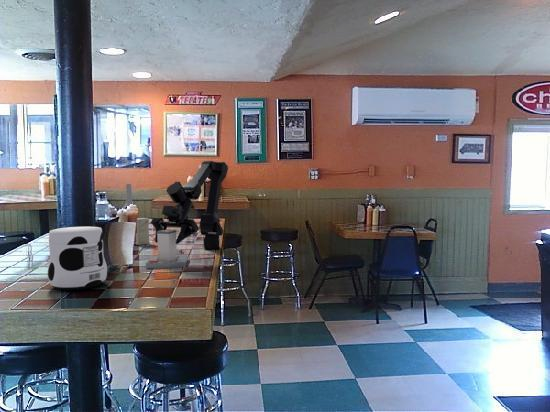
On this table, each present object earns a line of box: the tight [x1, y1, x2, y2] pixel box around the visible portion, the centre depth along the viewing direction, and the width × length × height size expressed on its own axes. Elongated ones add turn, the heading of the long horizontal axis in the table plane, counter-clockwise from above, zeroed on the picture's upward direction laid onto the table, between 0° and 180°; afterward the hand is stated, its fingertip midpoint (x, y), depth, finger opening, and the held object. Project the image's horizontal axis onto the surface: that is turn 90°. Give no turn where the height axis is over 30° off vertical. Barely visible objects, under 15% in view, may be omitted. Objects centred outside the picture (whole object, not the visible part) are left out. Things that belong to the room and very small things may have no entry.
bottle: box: [122, 183, 135, 210], centre depth 245 cm, size 7×7×28 cm
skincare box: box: [134, 217, 150, 246], centre depth 230 cm, size 6×4×12 cm
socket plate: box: [145, 254, 189, 270], centre depth 185 cm, size 14×14×2 cm
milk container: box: [47, 226, 108, 291], centre depth 152 cm, size 17×17×18 cm
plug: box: [157, 228, 178, 261], centre depth 184 cm, size 5×5×12 cm
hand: (166, 242), depth 184 cm, fingers open, 9 cm apart
